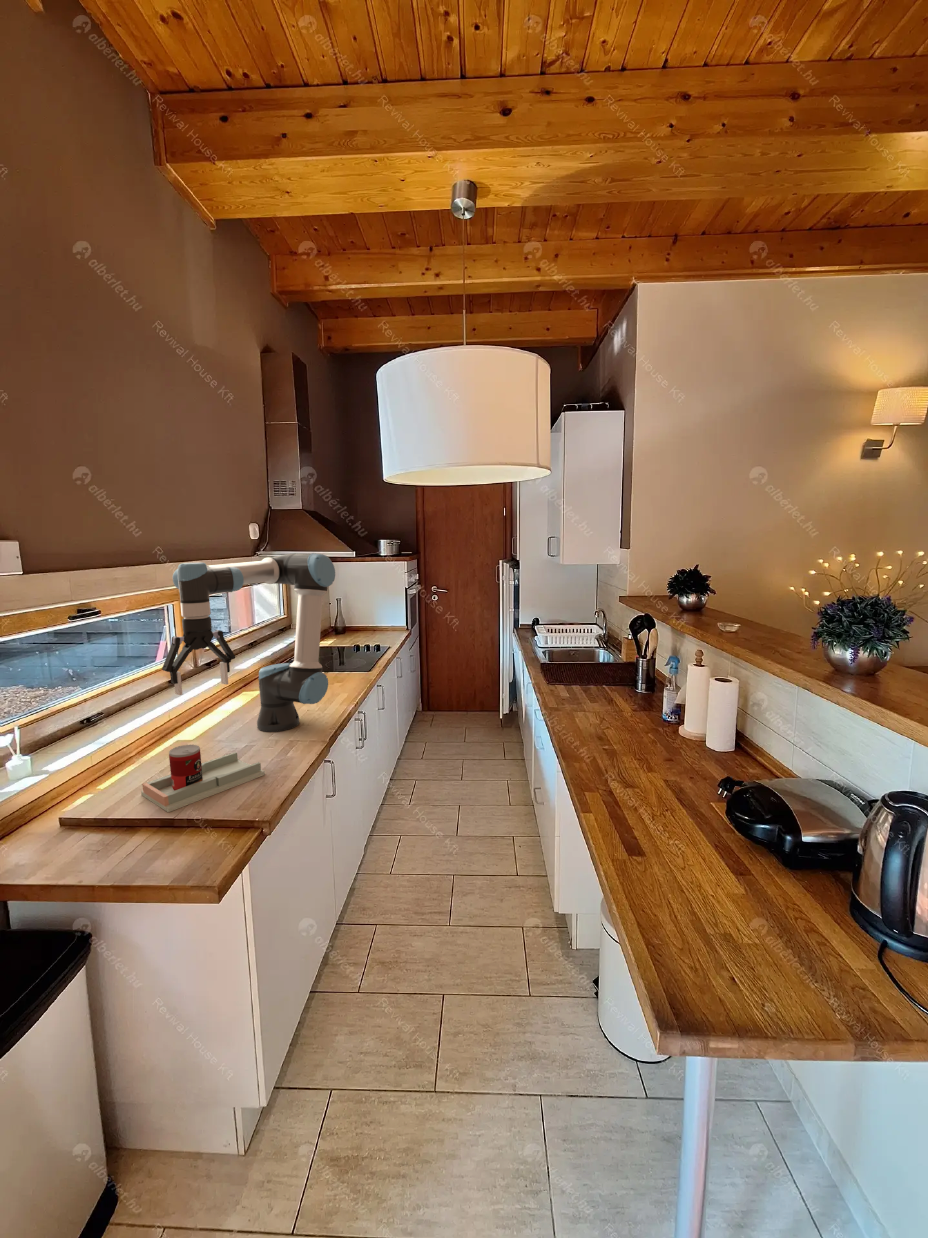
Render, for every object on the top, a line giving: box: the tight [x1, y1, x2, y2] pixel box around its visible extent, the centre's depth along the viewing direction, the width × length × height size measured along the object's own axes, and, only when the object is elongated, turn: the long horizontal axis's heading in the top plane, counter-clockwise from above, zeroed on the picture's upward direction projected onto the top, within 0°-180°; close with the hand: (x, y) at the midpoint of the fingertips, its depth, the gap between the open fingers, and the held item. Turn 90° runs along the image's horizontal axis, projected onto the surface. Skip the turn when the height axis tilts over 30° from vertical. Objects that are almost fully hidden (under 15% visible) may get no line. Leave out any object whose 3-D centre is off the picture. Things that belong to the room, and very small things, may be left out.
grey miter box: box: [140, 751, 266, 813], centre depth 158 cm, size 28×16×4 cm, turn 142°
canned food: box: [168, 744, 203, 791], centre depth 154 cm, size 8×8×11 cm
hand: (202, 688), depth 161 cm, fingers open, 13 cm apart
